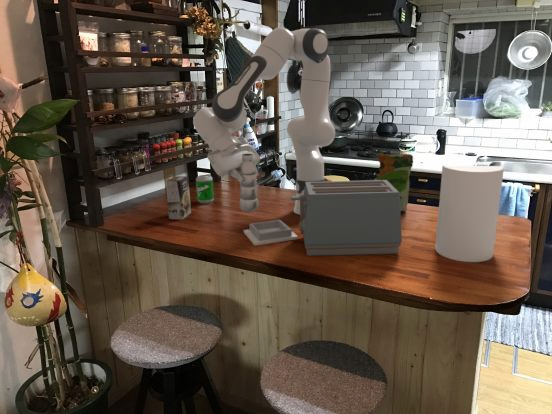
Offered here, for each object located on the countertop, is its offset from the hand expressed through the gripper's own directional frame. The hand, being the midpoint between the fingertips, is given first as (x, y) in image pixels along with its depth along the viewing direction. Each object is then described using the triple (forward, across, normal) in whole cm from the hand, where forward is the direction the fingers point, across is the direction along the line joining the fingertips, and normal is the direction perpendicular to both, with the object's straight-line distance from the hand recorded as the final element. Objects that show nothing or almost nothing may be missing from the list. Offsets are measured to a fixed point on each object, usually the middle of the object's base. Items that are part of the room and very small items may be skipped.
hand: (249, 178), depth 155 cm
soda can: (-19, +26, +51) cm, 60 cm away
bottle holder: (+18, +6, +14) cm, 23 cm away
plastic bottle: (+8, 0, +9) cm, 12 cm away
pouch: (+38, +54, -3) cm, 66 cm away
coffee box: (-15, +5, +46) cm, 49 cm away
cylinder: (+62, +28, -28) cm, 74 cm away
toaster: (+37, +12, -4) cm, 39 cm away
